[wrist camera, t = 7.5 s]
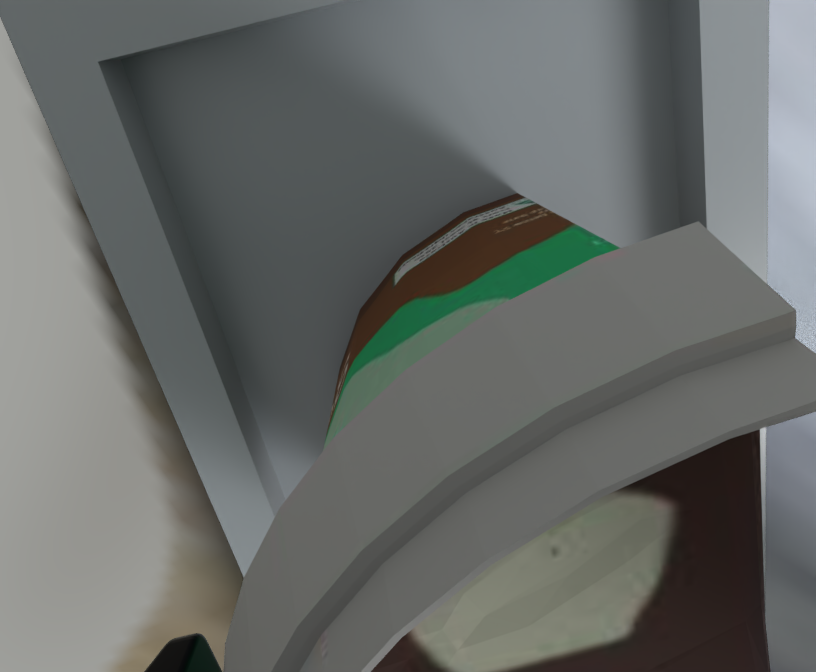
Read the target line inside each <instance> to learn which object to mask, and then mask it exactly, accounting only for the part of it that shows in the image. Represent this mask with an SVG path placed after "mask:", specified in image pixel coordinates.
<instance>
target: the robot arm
mask: <svg viewBox="0 0 816 672" xmlns="http://www.w3.org/2000/svg"><path fill="white" fill-rule="evenodd" d="M144 672H222V670H221V668H220V666H219V664H218V662H217V660H216V658H215V656H214V654H213V652H212V650H211V648H210V646H209V644H208V642H207V640H206V639H205V637H204V636H203V635H202V634H197V633H196V634H191V635H187V636H182V637H178V638H174V639H172V640H170V641H169V642H168V643H167V644H166V645H165V646H164V647H163V649H162V650H161V651H160V652H159V654H158V655H157V656H156V658H155V659H154V660H153V661H152V663H151V664H150V665H149V666H148V668H147V669H146V670H145V671H144Z"/></svg>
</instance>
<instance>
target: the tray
mask: <svg viewBox="0 0 816 672" xmlns="http://www.w3.org/2000/svg"><path fill="white" fill-rule="evenodd" d="M0 17H1V20H2V22H3V24H4V26H5V29H6V31H7V33H8V36H9V38H10V40H11V43H12V45H13V47H14V49H15V52H16V54H17V56H18V59H19V61H20V63H21V66H22V68H23V70H24V73H25V75H26V77H27V79H28V82H29V84H30V86H31V89H32V91H33V93H34V96H35V98H36V100H37V102H38V105H39V107H40V109H41V112H42V114H43V116H44V119H45V121H46V123H47V125H48V128H49V130H50V132H51V135H52V137H53V139H54V142H55V144H56V146H57V148H58V151H59V153H60V155H61V158H62V160H63V162H64V165H65V167H66V169H67V171H68V174H69V176H70V178H71V181H72V183H73V185H74V188H75V190H76V192H77V195H78V197H79V199H80V201H81V204H82V206H83V208H84V211H85V213H86V215H87V218H88V220H89V222H90V224H91V227H92V229H93V231H94V234H95V236H96V238H97V241H98V243H99V245H100V247H101V250H102V252H103V254H104V257H105V259H106V261H107V264H108V266H109V268H110V270H111V273H112V275H113V277H114V280H115V282H116V284H117V287H118V289H119V291H120V294H121V296H122V298H123V300H124V303H125V305H126V307H127V310H128V312H129V314H130V317H131V319H132V321H133V323H134V326H135V328H136V330H137V333H138V335H139V337H140V340H141V342H142V344H143V346H144V349H145V351H146V353H147V356H148V358H149V360H150V363H151V365H152V367H153V369H154V372H155V374H156V376H157V379H158V381H159V383H160V386H161V388H162V390H163V393H164V395H165V397H166V399H167V402H168V404H169V406H170V409H171V411H172V413H173V416H174V418H175V420H176V422H177V425H178V427H179V429H180V432H181V434H182V436H183V439H184V441H185V443H186V445H187V448H188V450H189V452H190V455H191V457H192V459H193V462H194V464H195V466H196V468H197V471H198V473H199V475H200V478H201V480H202V482H203V485H204V487H205V489H206V492H207V494H208V496H209V498H210V501H211V503H212V505H213V508H214V510H215V512H216V515H217V517H218V519H219V521H220V524H221V526H222V528H223V531H224V533H225V535H226V538H227V540H228V542H229V544H230V547H231V549H232V551H233V554H234V556H235V558H236V561H237V563H238V565H239V567H240V570H241V572H242V574H243V577H244V576H245V574H246V572H247V570H248V568H249V567H250V565H251V563H252V561H253V559H254V557H255V555H256V553H257V551H258V549H259V547H260V545H261V543H262V541H263V539H264V537H265V535H266V534H267V532H268V530H269V528H270V526H271V524H272V522H273V520H274V518H275V516H276V514H277V512H278V510H279V508H280V507H281V506H282V504H283V503H284V502H285V500H286V499H287V498H288V496H289V495H290V494H291V492H292V491H293V490H294V489H295V487H296V486H297V485H298V483H299V482H300V481H301V479H302V478H303V477H304V475H305V474H306V473H307V472H308V470H309V469H310V468H311V466H312V465H313V464H314V462H315V461H316V460H317V458H318V457H319V456H320V455H321V453H322V452H323V449H324V444H325V439H326V434H327V429H328V424H329V419H330V414H331V409H332V404H333V399H334V394H335V389H336V384H337V379H338V374H339V369H340V366H341V363H342V360H343V357H344V354H345V351H346V349H347V346H348V343H349V340H350V337H351V334H352V331H353V328H354V325H355V322H356V319H357V316H358V314H359V311H360V309H361V307H362V306H363V305H364V304H365V302H366V301H367V300H368V298H369V297H370V296H371V295H372V293H373V292H374V291H375V289H376V288H377V287H378V286H379V284H380V283H381V282H382V280H383V279H384V278H385V276H386V275H387V274H388V273H389V271H390V270H391V269H392V267H393V266H394V265H395V264H396V262H397V261H398V260H399V258H400V257H401V256H402V255H403V254H404V253H406V252H407V251H409V250H410V249H411V248H413V247H414V246H416V245H417V244H419V243H420V242H421V241H423V240H424V239H426V238H427V237H429V236H430V235H432V234H433V233H434V232H436V231H437V230H439V229H440V228H442V227H443V226H444V225H446V224H447V223H449V222H450V221H452V220H453V219H455V218H456V217H457V216H459V215H460V214H462V213H463V212H465V211H468V210H471V209H474V208H477V207H479V206H482V205H485V204H488V203H491V202H493V201H496V200H499V199H502V198H505V197H507V196H510V195H513V194H516V193H518V194H520V195H522V196H524V197H526V198H528V199H530V200H532V201H533V202H535V203H537V204H539V205H541V206H543V207H545V208H547V209H548V210H550V211H552V212H554V213H556V214H558V215H560V216H562V217H563V218H565V219H567V220H569V221H571V222H573V223H575V224H577V225H578V226H580V227H582V228H584V229H586V230H588V231H590V232H592V233H593V234H595V235H597V236H599V237H601V238H603V239H605V240H607V241H608V242H610V243H612V244H614V245H616V246H618V247H620V248H623V247H626V246H629V245H631V244H634V243H637V242H640V241H643V240H646V239H649V238H652V237H655V236H657V235H660V234H663V233H666V232H669V231H672V230H675V229H678V228H680V227H683V226H686V225H689V224H692V223H695V222H698V221H699V222H700V223H701V224H702V225H703V226H704V227H705V228H706V229H707V230H708V231H710V232H711V233H712V234H713V235H714V236H715V237H716V238H717V239H718V240H719V241H721V242H722V243H723V244H724V245H725V246H726V247H727V248H728V249H729V250H730V251H731V252H733V253H734V254H735V255H736V256H737V257H738V258H739V259H740V260H741V261H742V262H743V263H745V264H746V265H747V266H748V267H749V268H750V269H751V270H752V271H753V272H754V273H755V274H757V275H758V276H759V277H760V278H761V279H762V280H763V281H764V282H765V283H766V284H767V237H768V79H769V0H0ZM760 458H761V499H762V532H763V565H764V598H765V552H766V427H765V428H762V429H760Z"/></svg>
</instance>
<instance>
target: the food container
mask: <svg viewBox="0 0 816 672" xmlns="http://www.w3.org/2000/svg"><path fill="white" fill-rule="evenodd" d="M795 331H796V310H795V309H794V308H793V307H792V306H790V305H789V304H788V303H787V302H786V301H785V300H784V299H783V298H782V297H781V296H780V295H778V294H777V293H776V292H775V291H774V290H773V289H772V288H771V287H770V286H769V285H768V284H766V283H765V282H764V281H763V280H762V279H761V278H760V277H759V276H758V275H757V274H755V273H754V272H753V271H752V270H751V269H750V268H749V267H748V266H747V265H746V264H745V263H743V262H742V261H741V260H740V259H739V258H738V257H737V256H736V255H735V254H734V253H733V252H731V251H730V250H729V249H728V248H727V247H726V246H725V245H724V244H723V243H722V242H721V241H719V240H718V239H717V238H716V237H715V236H714V235H713V234H712V233H711V232H710V231H708V230H707V229H706V228H705V227H704V226H703V225H702V224H701V223H700V222H699V221H698V222H695V223H692V224H689V225H686V226H683V227H680V228H678V229H675V230H672V231H669V232H666V233H663V234H660V235H657V236H655V237H652V238H649V239H646V240H643V241H640V242H637V243H634V244H631V245H629V246H626V247H623V248H620V247H618V246H616V245H614V244H612V243H610V242H608V241H607V240H605V239H603V238H601V237H599V236H597V235H595V234H593V233H592V232H590V231H588V230H586V229H584V228H582V227H580V226H578V225H577V224H575V223H573V222H571V221H569V220H567V219H565V218H563V217H562V216H560V215H558V214H556V213H554V212H552V211H550V210H548V209H547V208H545V207H543V206H541V205H539V204H537V203H535V202H533V201H532V200H530V199H528V198H526V197H524V196H522V195H520V194H518V193H516V194H513V195H510V196H507V197H505V198H502V199H499V200H496V201H493V202H491V203H488V204H485V205H482V206H479V207H477V208H474V209H471V210H468V211H465V212H463V213H462V214H460V215H459V216H457V217H456V218H455V219H453V220H452V221H450V222H449V223H447V224H446V225H444V226H443V227H442V228H440V229H439V230H437V231H436V232H434V233H433V234H432V235H430V236H429V237H427V238H426V239H424V240H423V241H421V242H420V243H419V244H417V245H416V246H414V247H413V248H411V249H410V250H409V251H407V252H406V253H404V254H403V255H402V256H401V257H400V258H399V260H398V261H397V262H396V264H395V265H394V266H393V267H392V269H391V270H390V271H389V273H388V274H387V275H386V276H385V278H384V279H383V280H382V282H381V283H380V284H379V286H378V287H377V288H376V289H375V291H374V292H373V293H372V295H371V296H370V297H369V298H368V300H367V301H366V302H365V304H364V305H363V306H362V307H361V309H360V311H359V314H358V316H357V319H356V322H355V325H354V328H353V331H352V334H351V337H350V340H349V343H348V346H347V349H346V351H345V354H344V357H343V360H342V363H341V366H340V369H339V374H338V379H337V384H336V389H335V394H334V399H333V404H332V409H331V414H330V419H329V424H328V429H327V434H326V439H325V444H324V449H323V452H322V453H321V455H320V456H319V457H318V458H317V460H316V461H315V462H314V464H313V465H312V466H311V468H310V469H309V470H308V472H307V473H306V474H305V475H304V477H303V478H302V479H301V481H300V482H299V483H298V485H297V486H296V487H295V489H294V490H293V491H292V492H291V494H290V495H289V496H288V498H287V499H286V500H285V502H284V503H283V504H282V506H281V507H280V508H279V510H278V512H277V514H276V516H275V518H274V520H273V522H272V524H271V526H270V528H269V530H268V532H267V534H266V535H265V537H264V539H263V541H262V543H261V545H260V547H259V549H258V551H257V553H256V555H255V557H254V559H253V561H252V563H251V565H250V567H249V568H248V570H247V572H246V574H245V576H244V579H243V583H242V586H241V590H240V593H239V597H238V600H237V604H236V607H235V611H234V614H233V618H232V621H231V625H230V628H229V632H228V635H227V639H226V642H225V655H224V672H770V663H769V653H768V643H767V633H766V623H765V598H764V565H763V532H762V499H761V458H760V429H762V428H765V427H768V426H772V425H775V424H778V423H781V422H784V421H787V420H790V419H794V418H797V417H800V416H803V415H806V414H809V413H812V412H816V354H815V353H814V352H813V351H811V350H810V349H809V348H807V347H806V346H805V345H803V344H802V343H801V342H799V341H798V340H797V339H795Z"/></svg>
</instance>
